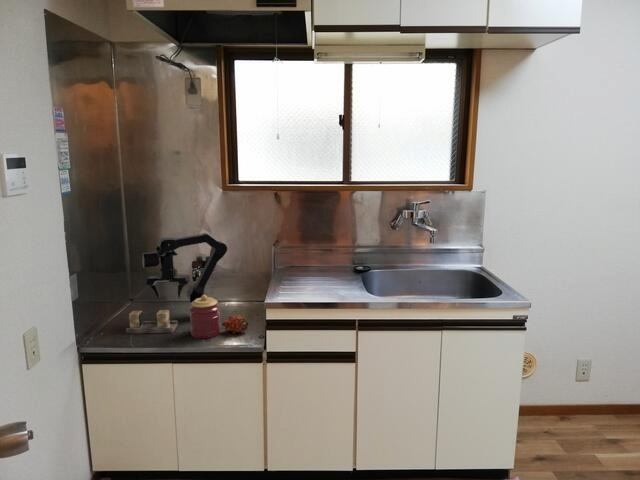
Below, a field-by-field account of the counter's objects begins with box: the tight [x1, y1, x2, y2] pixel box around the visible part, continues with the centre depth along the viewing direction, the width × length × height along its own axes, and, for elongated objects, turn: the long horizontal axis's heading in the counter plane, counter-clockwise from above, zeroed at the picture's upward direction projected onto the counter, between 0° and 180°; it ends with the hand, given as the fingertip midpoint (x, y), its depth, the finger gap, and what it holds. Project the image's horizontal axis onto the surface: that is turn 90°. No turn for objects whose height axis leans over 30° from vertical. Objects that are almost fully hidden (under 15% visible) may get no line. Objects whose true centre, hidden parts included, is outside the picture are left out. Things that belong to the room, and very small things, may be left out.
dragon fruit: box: [221, 314, 249, 335], centre depth 200 cm, size 8×8×12 cm
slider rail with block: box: [125, 310, 179, 335], centre depth 204 cm, size 20×9×8 cm, turn 93°
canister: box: [188, 294, 222, 339], centre depth 198 cm, size 13×13×18 cm
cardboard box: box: [155, 309, 171, 327], centre depth 204 cm, size 5×5×7 cm
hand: (169, 298), depth 210 cm, fingers open, 9 cm apart
